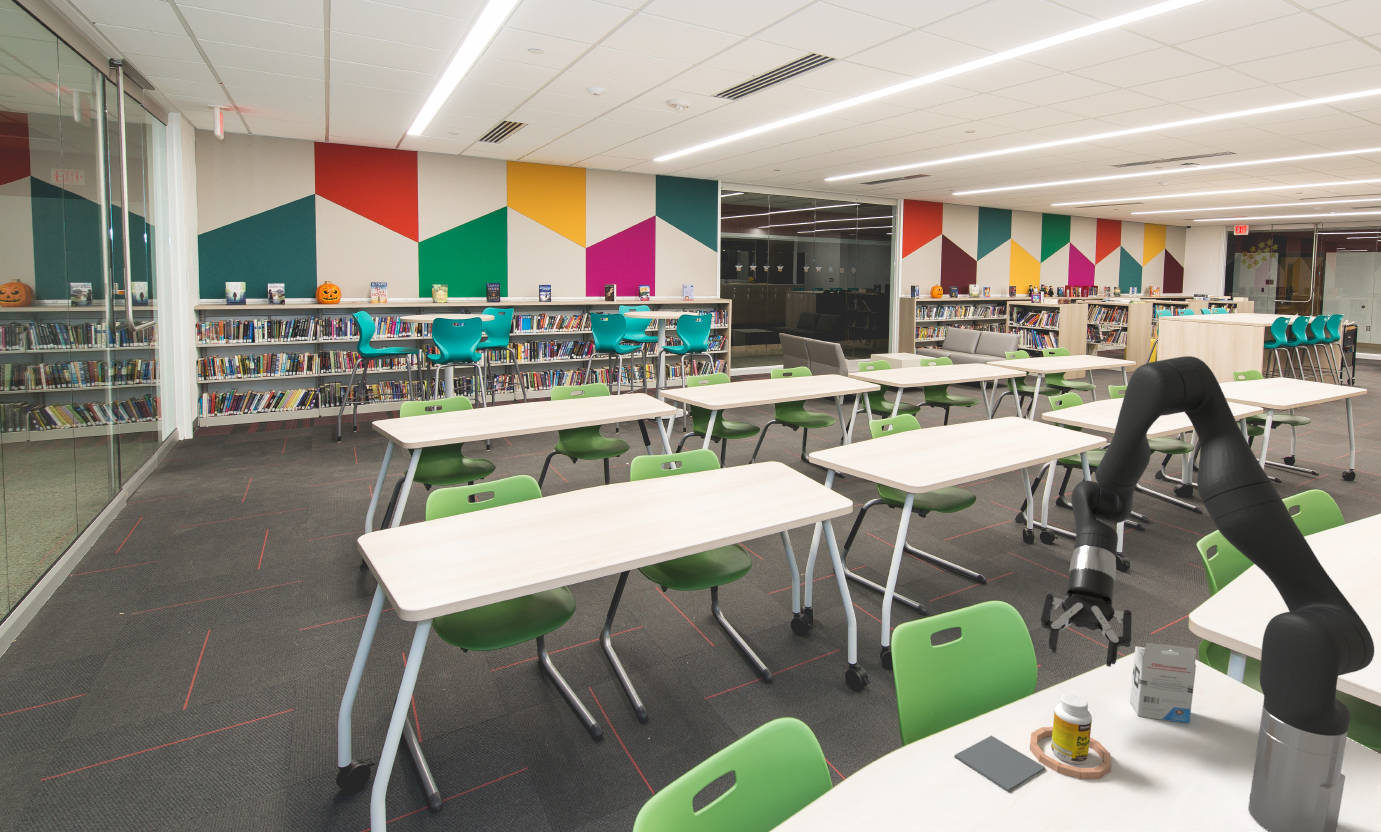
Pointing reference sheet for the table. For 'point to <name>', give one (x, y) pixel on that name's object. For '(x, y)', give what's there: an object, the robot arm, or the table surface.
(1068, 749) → the supplement bottle
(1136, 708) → the ink box
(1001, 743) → the mat
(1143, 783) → the table surface
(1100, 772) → the faceted open ring
